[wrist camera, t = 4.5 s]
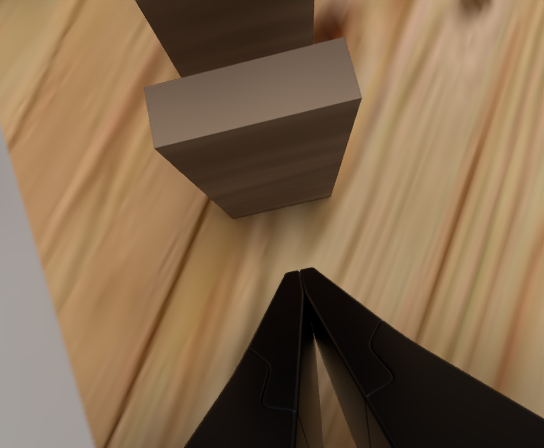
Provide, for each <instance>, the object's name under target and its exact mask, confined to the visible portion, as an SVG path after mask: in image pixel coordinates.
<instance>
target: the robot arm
mask: <svg viewBox="0 0 544 448" xmlns="http://www.w3.org/2000/svg"><path fill="white" fill-rule="evenodd" d="M300 275H301V276H300ZM307 306H308V307H307ZM309 315H310V316H309ZM311 324H312V325H311ZM312 328H313V329H312ZM313 333H314V334H313ZM314 336H315V340H316V343H317V346H318V348H319V351H320V354H321V356H322V359H323V361H324V364H325V367H326V369H327V372H328V374H329V377H330V380H331V382H332V385H333V388H334V390H335V393H336V395H337V398H338V401H339V403H340V406H341V408H342V411H343V414H344V416H345V419H346V421H347V424H348V427H349V429H350V432H351V434H352V437H353V440H354V442H355V445H356V448H544V418H542V417H540V416H539V415H537V414H535V413H533V412H532V411H530V410H528V409H527V408H525V407H523V406H522V405H520V404H518V403H516V402H515V401H513V400H511V399H510V398H508V397H506V396H505V395H503V394H501V393H499V392H498V391H496V390H494V389H493V388H491V387H489V386H488V385H486V384H484V383H482V382H481V381H479V380H477V379H476V378H474V377H472V376H471V375H469V374H467V373H465V372H464V371H462V370H460V369H459V368H457V367H455V366H454V365H452V364H450V363H448V362H447V361H445V360H443V359H442V358H440V357H438V356H437V355H435V354H433V353H431V352H430V351H428V350H426V349H425V348H423V347H421V346H420V345H418V344H417V343H415V342H413V341H412V340H410V339H409V338H407V337H406V336H404V335H403V334H401V333H400V332H399V331H397V330H396V329H394V328H393V327H392V326H390V325H389V324H388V323H386V322H385V321H382V319H381V318H379V317H378V316H377V315H375V314H374V313H373V312H371V311H370V310H369V309H367V308H366V307H365V306H363V305H362V304H361V303H360V302H358V301H357V300H356V299H354V298H353V297H352V296H350V295H349V294H348V293H346V292H345V291H344V290H342V289H341V288H340V287H339V286H337V285H336V284H335V283H333V282H332V281H331V280H329V279H328V278H327V277H325V276H324V275H323V274H321V273H320V272H319V271H318V270H316V269H315V268H313V267H311V268H306V269H302V270H300V272H299V271H292V272H288V273H286V274H285V275H284V277H283V279H282V281H281V283H280V285H279V287H278V289H277V291H276V293H275V295H274V297H273V299H272V301H271V303H270V305H269V307H268V309H267V311H266V313H265V315H264V317H263V318H262V320H261V322H260V324H259V326H258V328H257V330H256V332H255V334H254V336H253V338H252V340H251V342H250V344H249V346H248V349H246V351H245V353H244V355H243V357H242V359H241V361H240V362H239V364H238V366H237V368H236V370H235V371H234V373H233V375H232V376H231V378H230V380H229V381H228V383H227V384H226V386H225V387H224V389H223V391H222V392H221V394H220V395H219V396H218V398H217V399H216V401H215V402H214V404H213V405H212V407H211V408H210V410H209V411H208V413H207V414H206V416H205V417H204V419H203V420H202V422H201V423H200V424H199V426H198V427H197V429H196V430H195V432H194V433H193V435H192V436H191V438H190V439H189V441H188V442H187V444H186V445H185V447H184V448H323V437H322V425H321V412H320V399H319V387H318V374H317V362H316V349H315V340H314Z"/></svg>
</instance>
